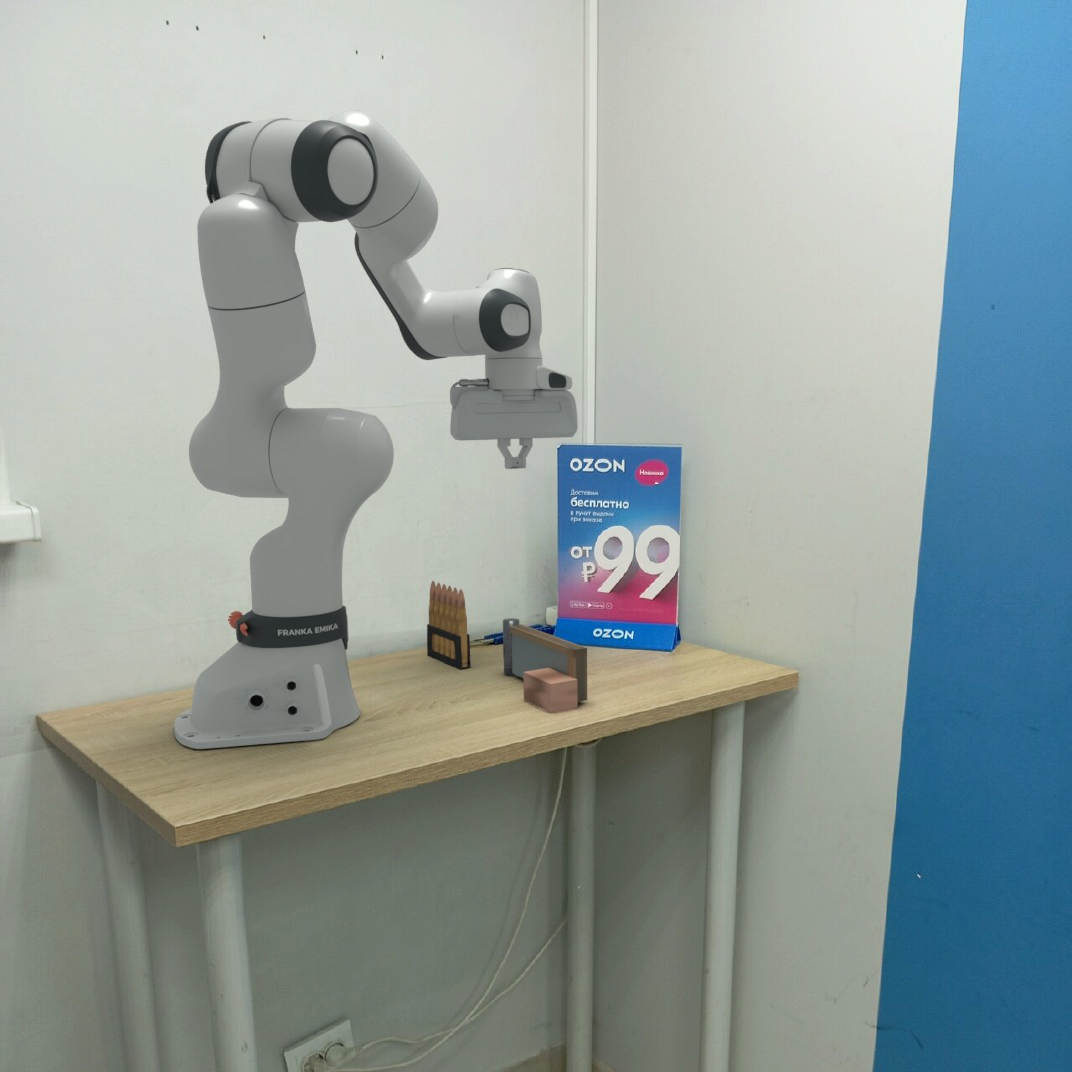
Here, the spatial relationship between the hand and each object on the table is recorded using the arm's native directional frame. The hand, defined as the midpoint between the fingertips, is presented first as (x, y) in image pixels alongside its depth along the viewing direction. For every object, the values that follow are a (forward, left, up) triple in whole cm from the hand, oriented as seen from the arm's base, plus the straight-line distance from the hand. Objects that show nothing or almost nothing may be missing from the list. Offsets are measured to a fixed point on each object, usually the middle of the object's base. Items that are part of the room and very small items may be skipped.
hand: (515, 468), depth 159 cm
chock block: (-7, -28, -29) cm, 41 cm away
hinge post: (-6, -12, -29) cm, 32 cm away
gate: (-5, -22, -29) cm, 36 cm away
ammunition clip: (-12, -1, -29) cm, 32 cm away
